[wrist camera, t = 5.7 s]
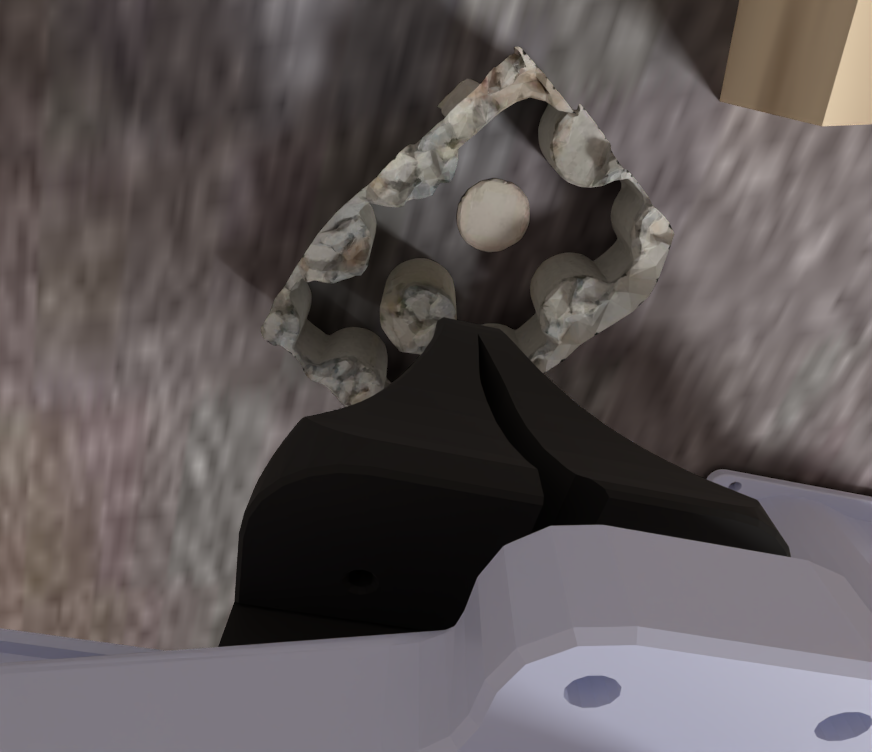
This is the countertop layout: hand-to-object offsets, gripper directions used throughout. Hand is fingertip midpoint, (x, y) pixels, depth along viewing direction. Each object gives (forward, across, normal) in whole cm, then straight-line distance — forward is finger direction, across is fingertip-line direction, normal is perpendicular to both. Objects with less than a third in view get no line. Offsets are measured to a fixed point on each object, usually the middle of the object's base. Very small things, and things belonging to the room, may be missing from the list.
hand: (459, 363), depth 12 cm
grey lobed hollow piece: (+7, 0, 0) cm, 7 cm away
